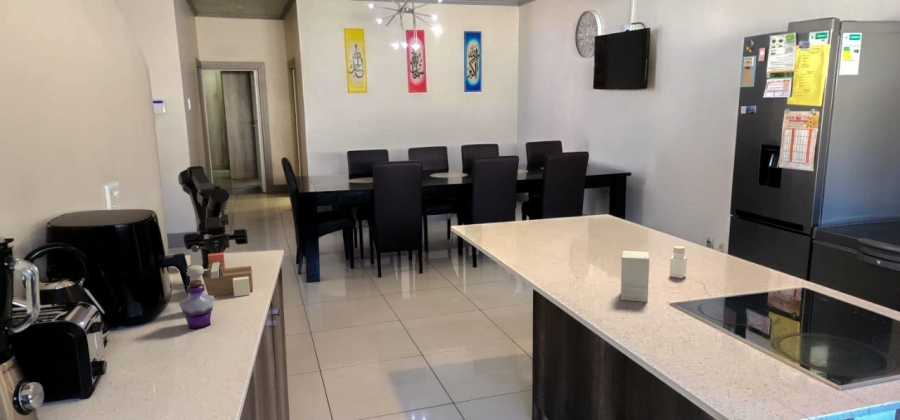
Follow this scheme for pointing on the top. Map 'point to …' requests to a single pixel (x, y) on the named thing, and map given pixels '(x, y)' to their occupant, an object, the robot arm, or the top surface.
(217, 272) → the red plunger
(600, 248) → the top surface
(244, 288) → the cream button
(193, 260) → the lever
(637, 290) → the supplement box
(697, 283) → the top surface
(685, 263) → the pepper shaker
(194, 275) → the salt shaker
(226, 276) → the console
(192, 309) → the potion bottle
